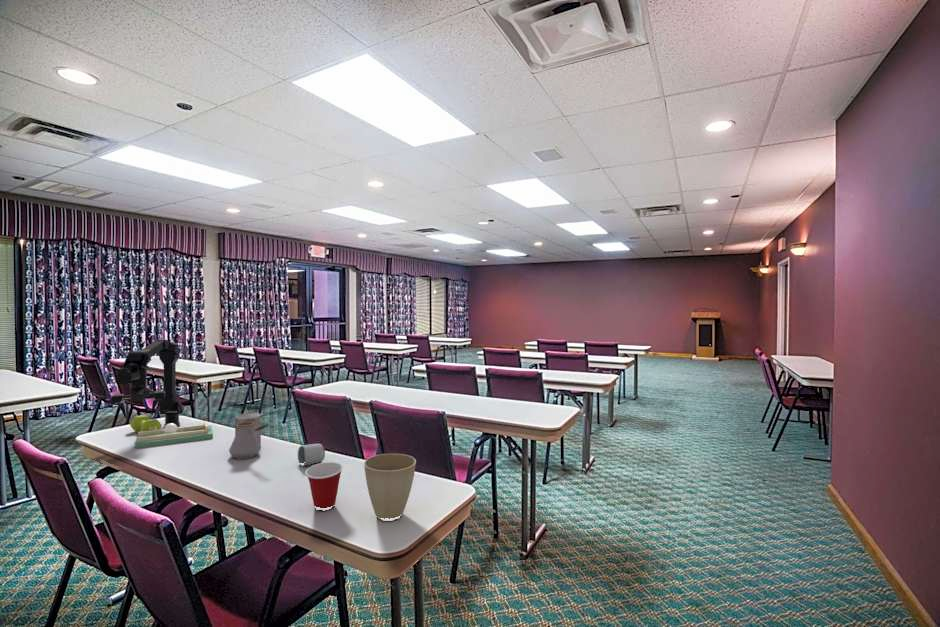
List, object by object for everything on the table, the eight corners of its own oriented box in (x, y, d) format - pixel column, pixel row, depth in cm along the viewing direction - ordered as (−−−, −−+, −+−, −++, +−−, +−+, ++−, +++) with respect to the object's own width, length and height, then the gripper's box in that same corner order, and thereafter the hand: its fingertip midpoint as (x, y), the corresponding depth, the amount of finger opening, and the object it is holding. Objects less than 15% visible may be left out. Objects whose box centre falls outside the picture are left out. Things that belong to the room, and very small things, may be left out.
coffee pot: (223, 457, 179) (223, 419, 179) (250, 449, 189) (250, 413, 188) (254, 468, 168) (254, 427, 167) (282, 459, 177) (282, 421, 177)
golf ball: (164, 433, 202) (164, 422, 202) (177, 432, 205) (177, 421, 205) (163, 436, 198) (163, 425, 198) (177, 435, 201) (177, 423, 200)
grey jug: (240, 444, 195) (240, 409, 195) (264, 443, 196) (264, 409, 196) (231, 451, 186) (230, 415, 185) (256, 451, 187) (255, 415, 186)
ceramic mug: (326, 463, 173) (326, 443, 173) (305, 468, 167) (305, 448, 167) (314, 457, 181) (314, 438, 181) (293, 462, 175) (293, 442, 175)
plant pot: (402, 531, 122) (403, 473, 122) (353, 524, 126) (354, 467, 126) (423, 508, 137) (423, 455, 136) (378, 501, 141) (379, 450, 140)
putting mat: (138, 438, 202) (138, 427, 202) (211, 429, 217) (211, 419, 217) (135, 448, 188) (135, 436, 188) (212, 438, 203) (212, 427, 203)
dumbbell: (162, 434, 208) (162, 418, 208) (142, 438, 202) (142, 422, 202) (148, 428, 218) (148, 413, 218) (129, 431, 211) (129, 416, 211)
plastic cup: (296, 510, 134) (297, 470, 134) (324, 497, 143) (324, 459, 143) (323, 519, 129) (323, 477, 129) (350, 504, 138) (350, 465, 138)
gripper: (108, 385, 183) (108, 423, 183) (164, 381, 193) (164, 418, 193) (112, 381, 192) (112, 417, 193) (165, 377, 202) (165, 412, 203)
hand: (138, 416), depth 195 cm, fingers open, 9 cm apart
